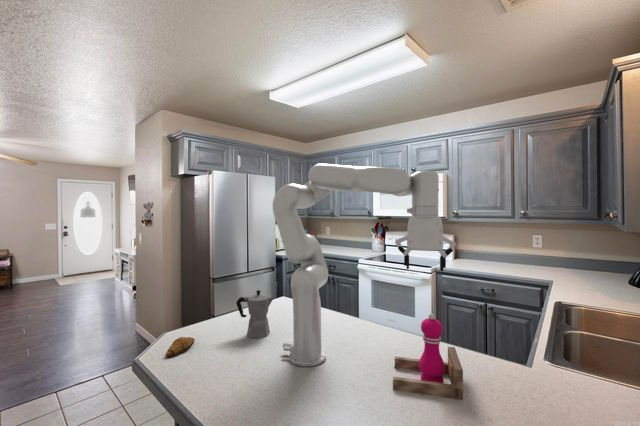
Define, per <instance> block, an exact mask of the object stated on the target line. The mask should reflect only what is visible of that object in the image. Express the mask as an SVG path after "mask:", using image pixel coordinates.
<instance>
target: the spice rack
mask: <svg viewBox="0 0 640 426" xmlns="http://www.w3.org/2000/svg"><path fill="white" fill-rule="evenodd" d="M419 361H420V358H412V357H411V358H410V357H403V356H394V368H395V369H400V370H406V371H407V370H409V371H415V372H421V370H420V369H419ZM443 362H444V365H445V373H444V375H446V376H448V379H449V381H450V383H445V382H444V383H438V382H430V381H423V380H421V379H417V378H416V379H414V378H407V377H400V376H392V390H393V391H398V392H404V393H411V394H417V395H425V396H432V397H438V398H444V399H445V398H446V399H451V400H457V401H464V369H463V366H462V364H461V360H460V358H459V356H458V353H457V350H456V347H455V346H447V362H445V361H443Z"/></svg>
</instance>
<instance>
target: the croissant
mask: <svg viewBox="0 0 640 426" xmlns="http://www.w3.org/2000/svg"><path fill="white" fill-rule="evenodd" d="M195 340H196V339H195V338H194V337H185V336H179V337H178V338H176V339H175V340H173V342H172V344H170V346H169V347H168V348H167V351H166V354H165V356H166V358H168V359H169V358H173V357H175V356H178V355H180V354H182V353H184V352H185V351H188V350H189V349H190V347H192V346H193V345H194V343H195Z"/></svg>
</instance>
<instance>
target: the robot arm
mask: <svg viewBox="0 0 640 426" xmlns="http://www.w3.org/2000/svg"><path fill="white" fill-rule="evenodd" d="M307 176H308V177H307V178H308V181H307V182H306V183H304V184H303V185H302V184H298V183H287V184H284V185H283V186H281V187H280V188H279V189H278V191H277V192H276V193H275V195H274V197H273V201H272V212H273V213H272V214H273V216H274V219H275V222H276V225H277V229H278V232H279V235H280V239H281V243H282V246H283V248H284V249H283V250H284V253H285V255H286V257H287V259H288V261H290V262H291V263H295V264H299V263H300V265H301V266H299V267H298V268H297V269H296V270H295V271H294V272H293V273H292V276H291V278H290V288H291V290H290V291H291V295H292V305H293V306H292V311H293V312H292V313H293V317H292V318H293V320H292V321H293V330H292V331H293V333H292V334H293V341H292V342H289V341H288V342H286V341H284V342H283V343H282V348H283V351H284V352H289V354H288V359H289V362H290V363H292V364H293V365H296V366H299V367H307V368H308V367H315V366H318V365H320V364H323V363H324V362H325V360H326V357H327V354H326V352H325V351H324V350H323V349H322V305H321V302H322V301H321V296H320V291H319V290H320V288H322V287H323V286H325V284H326V283H327V282H328V279H329V270H328V266H327V263H326V259H325V257H324V254H323V251H322V248H321V247H322V246H321V245H320V242H319V241H318V239H317V238H316V237H315V236H314V235H312V234H309V233H306V231H305V229H304V225H303V222H302V219H301V217H300V216H299V213H298V209H300V210H301V209H302V210H305V209H309V208H311V207H313V206H314V205H316V204H317V203H318V202H319V201H321V200H322V199H324V198H325V197H326V196H328V195H329V194H330V193H331V192H333V191H338V192H344V193H354V194H356V193H361V192H367V193H368V192H369V193H378V194H386V195H387V194H389V195H393V196H396V197H405V196H411V207H409V208H406V213H407V214H410V215H411V216H409V218H408V222H407V234H406V235H405V236H402V237H400V238H397V239H396V240H394V243H395V245H396V247H397V249H398V251H400V253H402V255H403V258H404V259H403V263H404V264H403V265H404V267H405V266H406V270H409V269H410V253H411V251H420V252H423V251H425V252H438V253H439V254H440V256H439V270H440V271H441V272H444V269H446V268H447V267H446V266H447V265H446V264H447V262H446V261H447V260H446V259H447V257H449V255H450V254H452V252H453V251H454V249H455V247H456V245H457V242H455V241H453V240H451V239H449V238H447V237H445V236H444V230H443V229H444V228H443V222H442V221H443V220H442V217H439V177H440V176H439V174H438V172H436V171H434V170H419V171H416V172H414V173H408V172H406V170H402V169H400V168H395V167H382V166H381V167H380V166H361V165H359V166H358V165H353V166H352V165H343V164H333V163H331V164H330V163H317V164H314V165H313V166H311V167H310V169H309V171H308V175H307ZM405 241H406V246H407V248H406V249H405V248H404V247H403V245H402V243H403V242H405ZM444 243H447V244H448V245H449V246H448V248H447V249H445V251H444V250H443V249H444Z"/></svg>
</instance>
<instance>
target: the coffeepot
mask: <svg viewBox="0 0 640 426" xmlns="http://www.w3.org/2000/svg"><path fill="white" fill-rule="evenodd" d="M255 293H256V294H254V295H250V296H241V297H239V298H238V299H237V300H236V307H237V309H238V312H239V315H240V318H246V317H247V315H248V314H249V320H248V325H247V331H246V335H247V337H249V338H251V339H263V338H265V337H267V336H269V335H270V333H271V331H270V325H269V319H268V317H267V316H268V313H269V308H270V305H271V303H273V300H275V297H274V296H272V295H267V294H261V290H259V289H258V290H256V291H255ZM242 303H247V304H246V305H247V308H248V314H245V313H244V310H243V306H242Z"/></svg>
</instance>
